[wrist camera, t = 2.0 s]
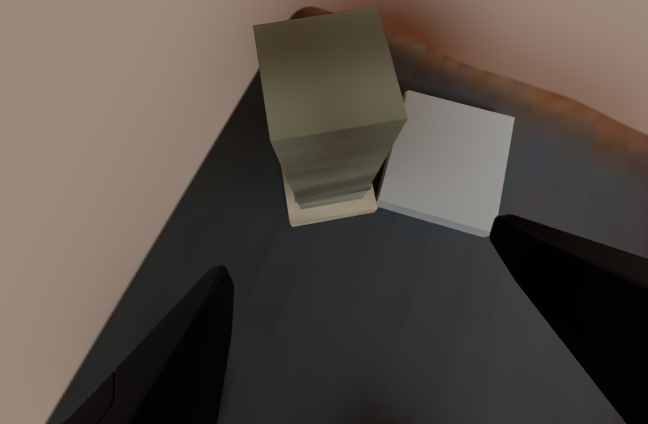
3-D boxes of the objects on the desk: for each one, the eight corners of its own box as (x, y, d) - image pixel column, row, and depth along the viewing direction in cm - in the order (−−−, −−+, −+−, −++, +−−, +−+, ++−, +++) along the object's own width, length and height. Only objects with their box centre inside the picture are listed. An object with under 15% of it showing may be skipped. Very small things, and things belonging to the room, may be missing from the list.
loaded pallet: (374, 212, 22) (442, 139, 9) (292, 226, 22) (245, 172, 9) (357, 137, 23) (396, -18, 11) (280, 150, 23) (225, 8, 10)
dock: (502, 127, 23) (518, 115, 21) (482, 237, 21) (498, 234, 19) (400, 101, 24) (407, 86, 22) (372, 205, 22) (377, 199, 20)
